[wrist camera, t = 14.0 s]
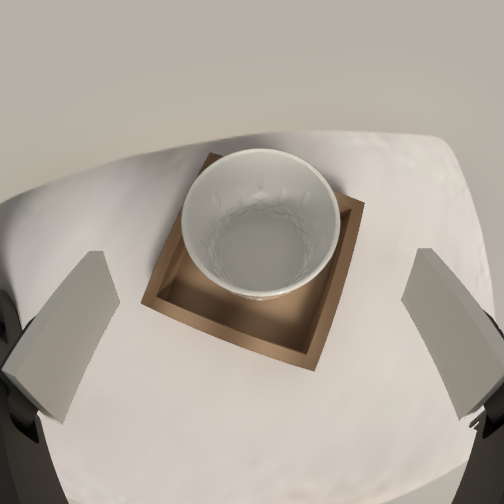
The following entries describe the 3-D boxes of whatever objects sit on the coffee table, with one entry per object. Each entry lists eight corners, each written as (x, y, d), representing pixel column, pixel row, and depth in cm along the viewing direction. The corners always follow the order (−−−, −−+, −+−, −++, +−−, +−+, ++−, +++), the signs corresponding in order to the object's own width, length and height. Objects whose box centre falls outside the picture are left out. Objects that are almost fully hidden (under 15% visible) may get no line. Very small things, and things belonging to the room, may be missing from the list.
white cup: (305, 215, 24) (331, 149, 14) (309, 306, 22) (346, 294, 12) (215, 216, 24) (189, 150, 14) (212, 307, 22) (175, 295, 12)
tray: (156, 306, 23) (140, 303, 20) (215, 172, 26) (210, 152, 23) (306, 364, 21) (314, 371, 18) (352, 218, 25) (364, 202, 21)
